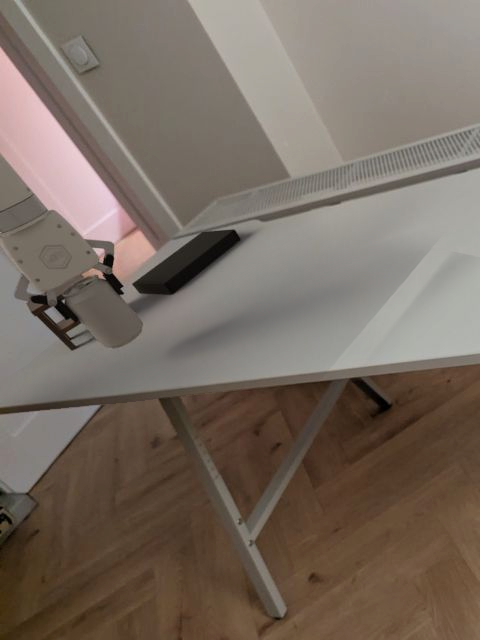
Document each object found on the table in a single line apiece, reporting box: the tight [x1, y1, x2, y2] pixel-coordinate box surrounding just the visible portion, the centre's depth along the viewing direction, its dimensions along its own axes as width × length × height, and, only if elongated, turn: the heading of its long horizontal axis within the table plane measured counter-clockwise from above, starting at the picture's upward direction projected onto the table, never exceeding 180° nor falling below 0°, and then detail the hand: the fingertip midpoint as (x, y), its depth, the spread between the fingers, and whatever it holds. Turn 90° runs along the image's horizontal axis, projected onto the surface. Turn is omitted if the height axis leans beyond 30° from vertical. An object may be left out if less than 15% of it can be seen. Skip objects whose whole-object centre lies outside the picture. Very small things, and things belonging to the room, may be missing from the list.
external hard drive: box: [131, 228, 242, 296], centre depth 133 cm, size 14×23×3 cm, turn 153°
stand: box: [25, 274, 85, 351], centre depth 119 cm, size 12×9×11 cm
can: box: [62, 274, 144, 349], centre depth 94 cm, size 8×8×12 cm
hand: (98, 305), depth 94 cm, fingers closed on can, 7 cm apart
